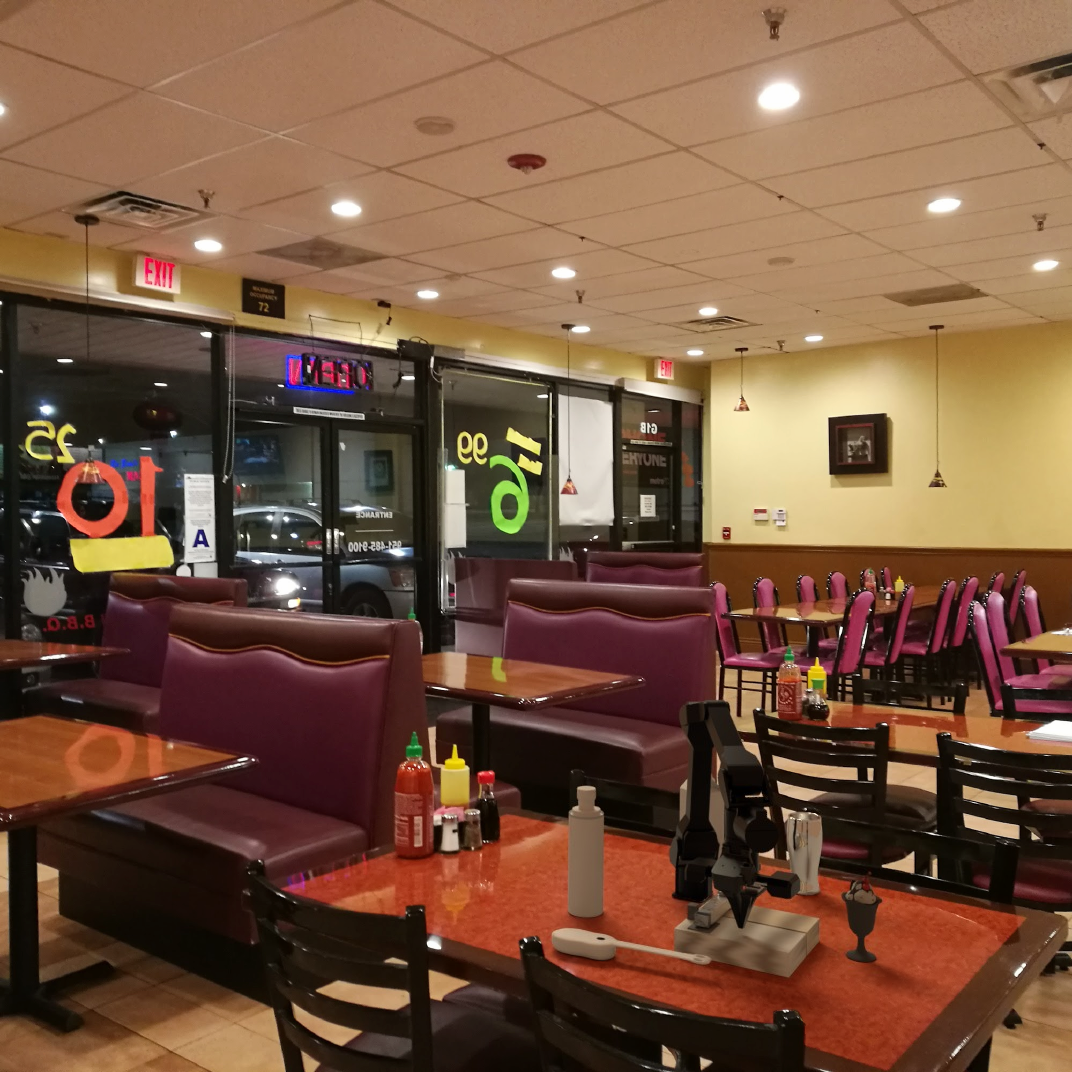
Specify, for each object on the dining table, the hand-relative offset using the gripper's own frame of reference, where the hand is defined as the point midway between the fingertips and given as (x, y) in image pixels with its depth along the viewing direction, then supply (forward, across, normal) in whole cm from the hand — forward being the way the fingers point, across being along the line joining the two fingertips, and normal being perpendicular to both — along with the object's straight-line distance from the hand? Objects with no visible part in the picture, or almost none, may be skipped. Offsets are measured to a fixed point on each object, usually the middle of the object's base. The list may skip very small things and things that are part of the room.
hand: (741, 928), depth 177 cm
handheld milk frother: (+5, -15, -12) cm, 20 cm away
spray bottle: (+5, -33, +5) cm, 33 cm away
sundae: (+5, +17, +11) cm, 21 cm away
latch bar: (0, -7, +5) cm, 8 cm away
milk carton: (+5, -27, +49) cm, 56 cm away
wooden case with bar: (+5, -1, +5) cm, 7 cm away
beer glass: (+5, -1, +39) cm, 40 cm away
